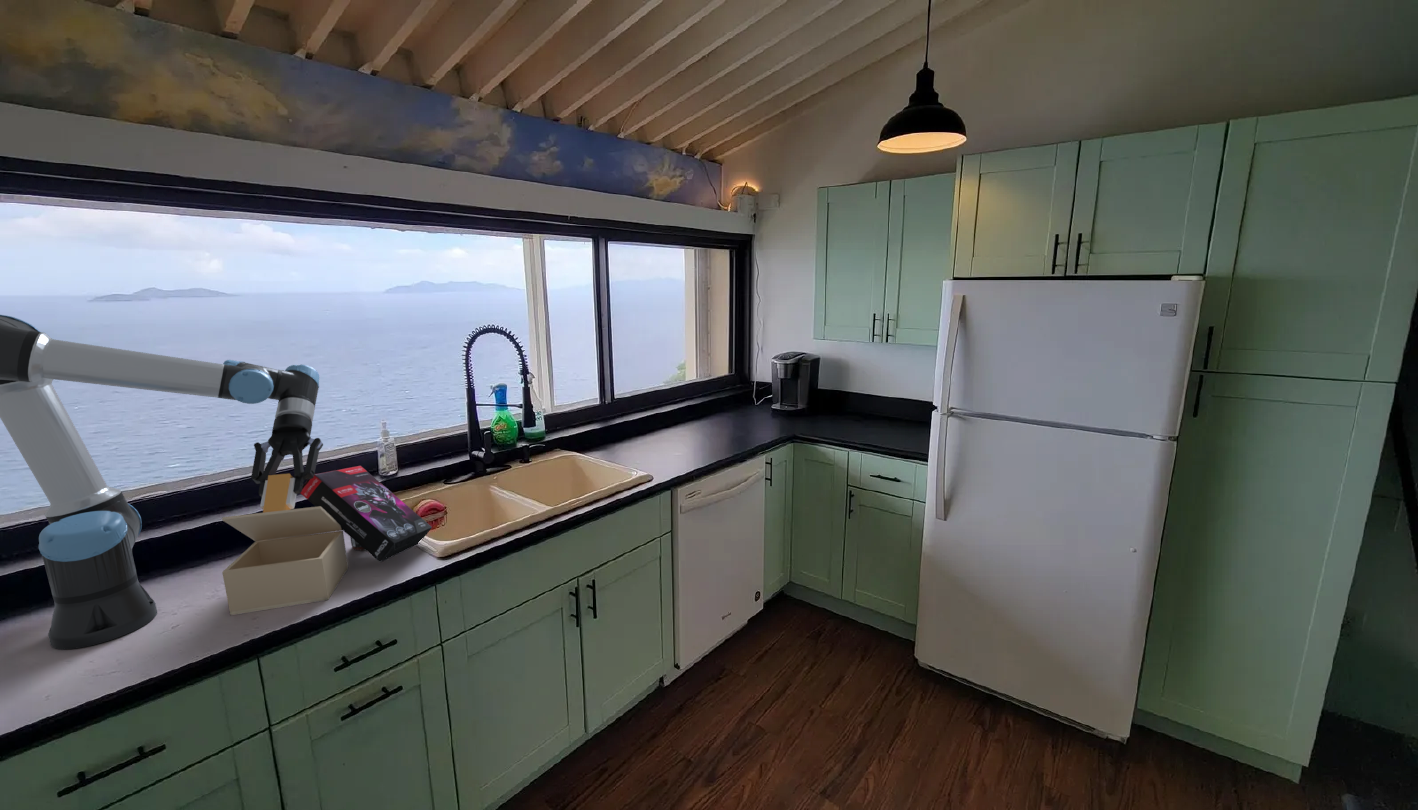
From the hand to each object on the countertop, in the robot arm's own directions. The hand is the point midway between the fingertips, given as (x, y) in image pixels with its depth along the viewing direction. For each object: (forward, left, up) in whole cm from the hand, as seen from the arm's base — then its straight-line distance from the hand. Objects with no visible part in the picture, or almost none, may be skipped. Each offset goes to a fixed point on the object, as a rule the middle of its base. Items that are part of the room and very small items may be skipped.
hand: (277, 507), depth 124 cm
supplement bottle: (+2, +24, -21) cm, 32 cm away
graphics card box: (+18, +17, -17) cm, 30 cm away
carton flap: (-1, +3, -6) cm, 6 cm away
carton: (0, +1, -21) cm, 21 cm away
